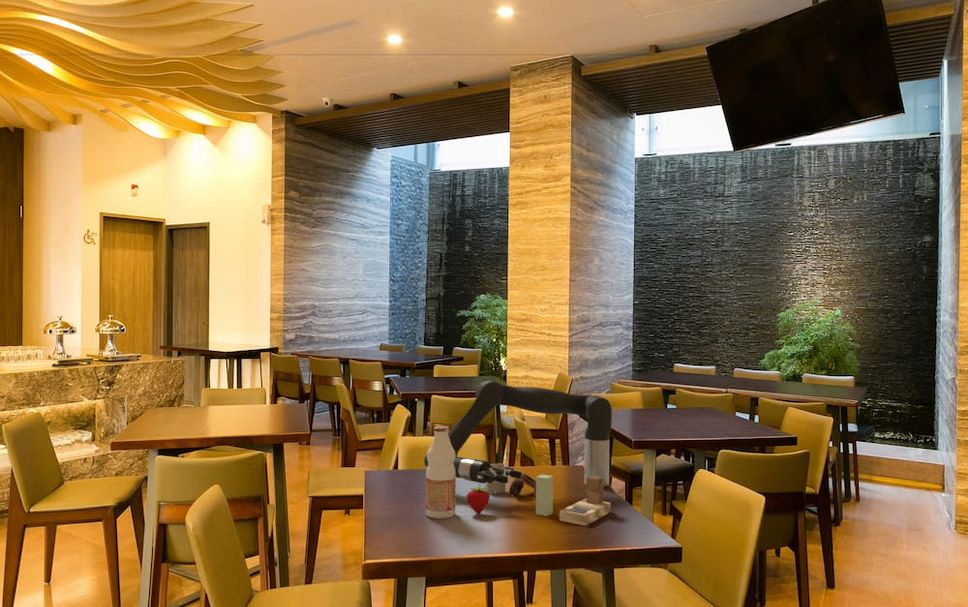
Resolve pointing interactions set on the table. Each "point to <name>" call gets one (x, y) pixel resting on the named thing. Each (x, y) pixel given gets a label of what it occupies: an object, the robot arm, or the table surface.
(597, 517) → the base slab
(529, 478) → the pottery mug
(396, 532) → the table surface
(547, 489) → the pillar
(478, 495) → the strawberry
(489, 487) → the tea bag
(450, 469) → the fruit juice
